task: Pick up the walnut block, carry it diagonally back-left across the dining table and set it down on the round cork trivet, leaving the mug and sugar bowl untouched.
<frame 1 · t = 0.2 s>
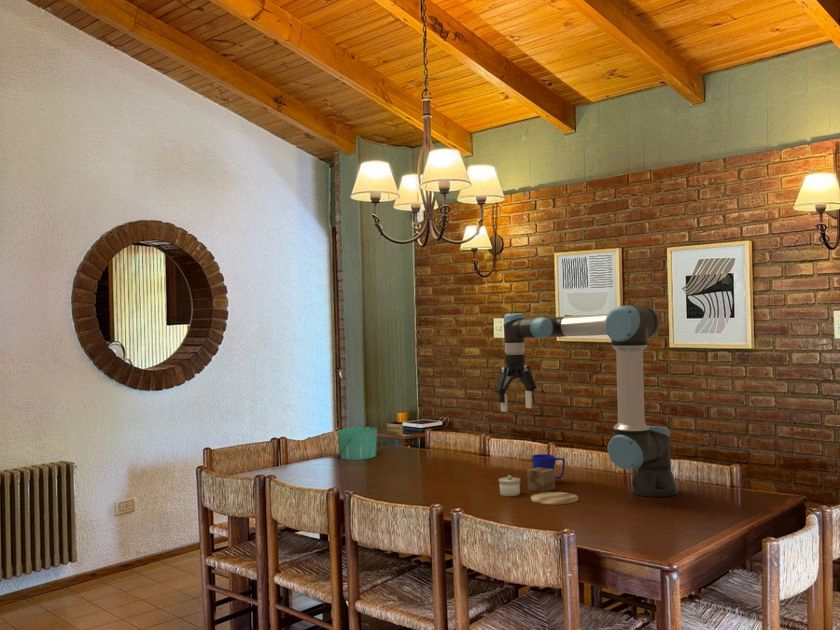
hand: (516, 409, 284), 27 cm above the table, fingers open, 13 cm apart
mug: (549, 483, 279), on the table
block: (541, 489, 269), on the table
sugar bowl: (510, 494, 263), on the table
trivet: (554, 499, 253), on the table
basket: (358, 457, 350), on the table
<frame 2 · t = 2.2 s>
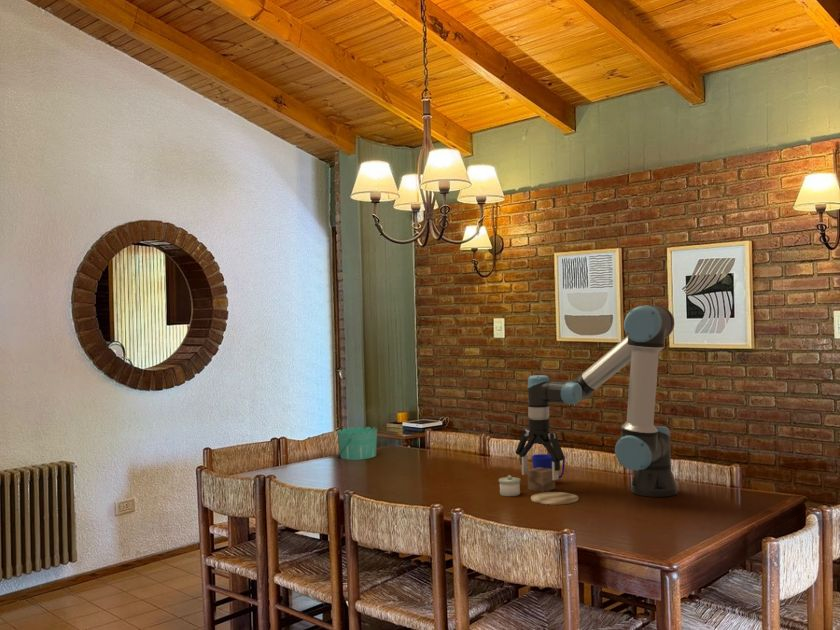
hand: (540, 477, 270), 4 cm above the table, fingers open, 13 cm apart
nothing on the table moved.
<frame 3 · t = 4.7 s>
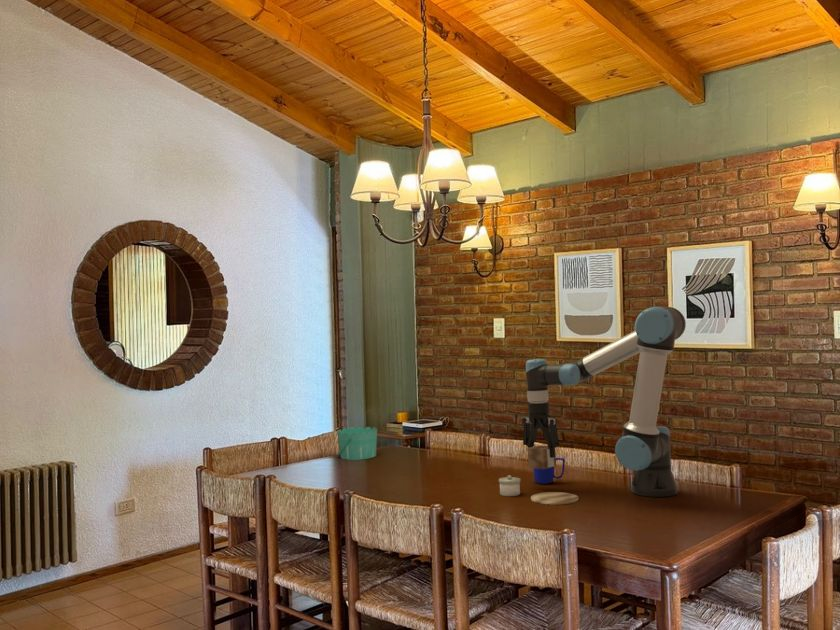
hand: (542, 465, 269), 8 cm above the table, fingers closed on block, 7 cm apart
block: (542, 466, 269), point 8 cm above the table, touching gripper
everything else where it was.
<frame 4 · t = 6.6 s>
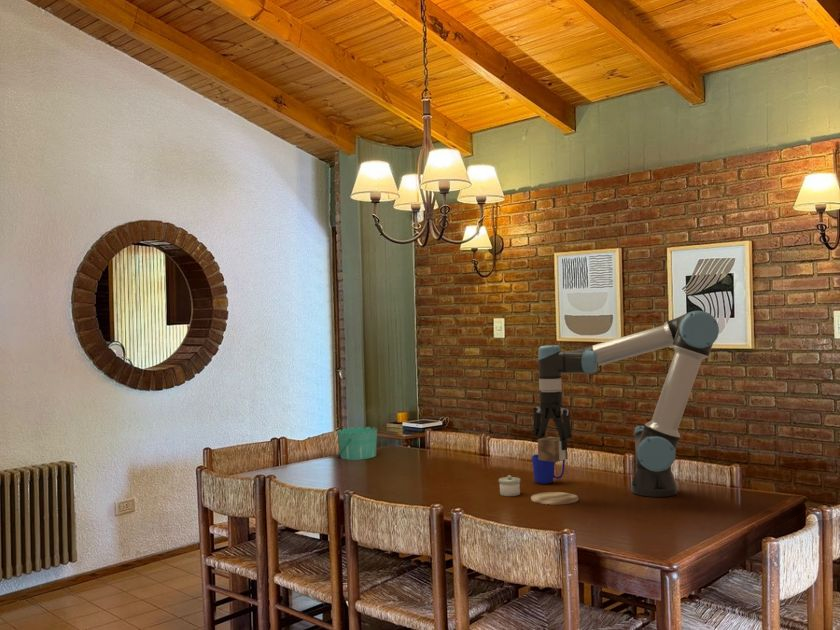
hand: (552, 458, 253), 14 cm above the table, fingers closed on block, 7 cm apart
block: (552, 459, 253), point 13 cm above the table, touching gripper
everything else where it was.
when the fingers open (1 cm above the table, at t = 8.6 s): block stays where it is, resting on trivet.
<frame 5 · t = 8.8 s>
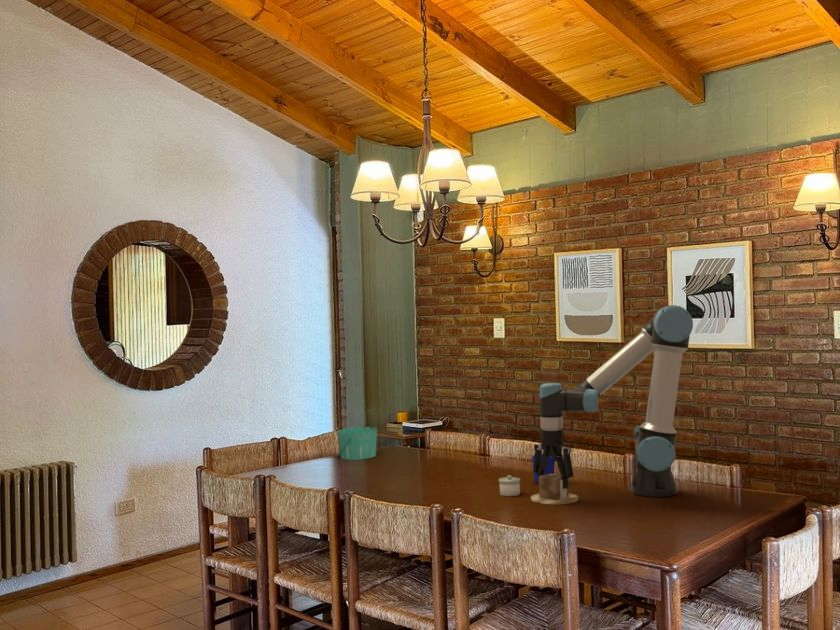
hand: (553, 496, 253), 1 cm above the table, fingers open, 8 cm apart
block: (554, 497, 253), point 1 cm above the table, touching trivet
everything else where it was.
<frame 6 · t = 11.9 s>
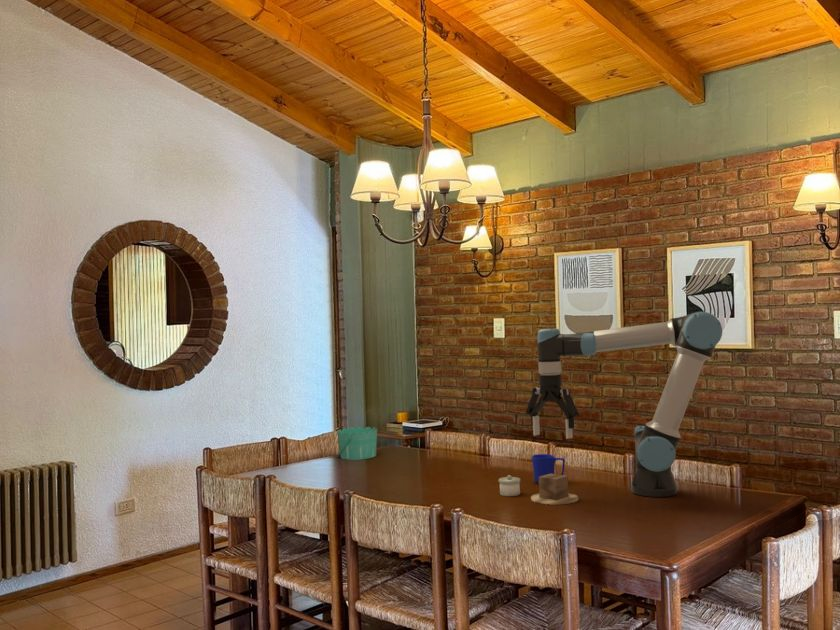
hand: (552, 436, 253), 21 cm above the table, fingers open, 13 cm apart
nothing on the table moved.
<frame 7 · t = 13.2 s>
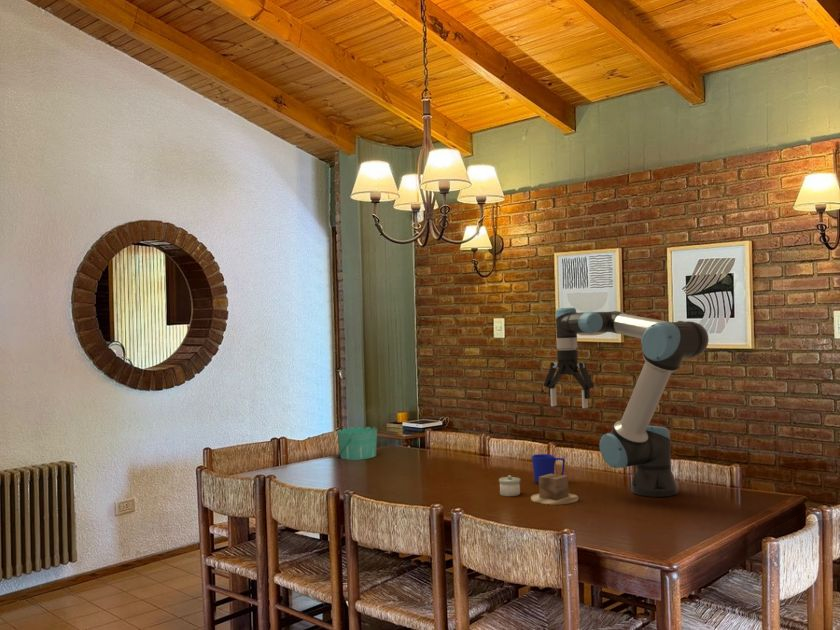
hand: (569, 406, 275), 29 cm above the table, fingers open, 13 cm apart
nothing on the table moved.
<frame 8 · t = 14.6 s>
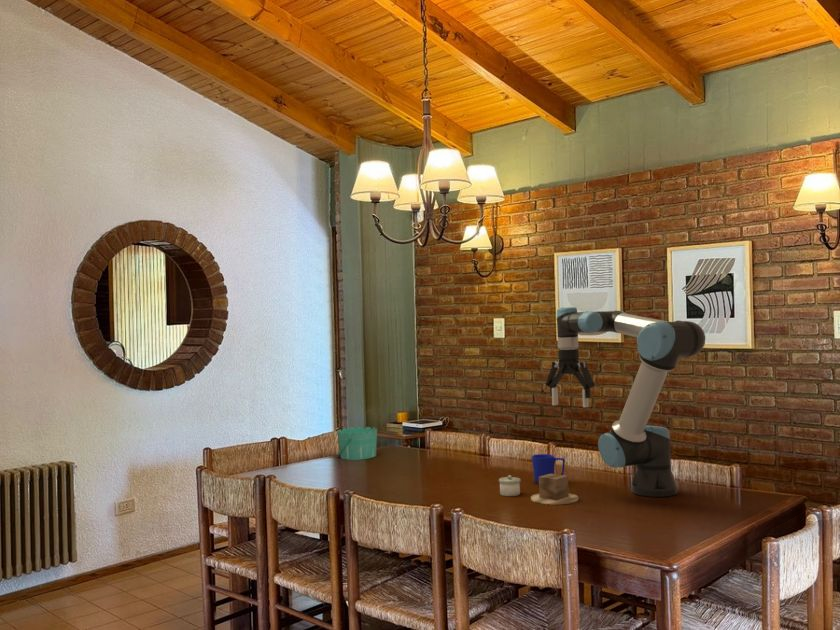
hand: (570, 406, 276), 29 cm above the table, fingers open, 13 cm apart
nothing on the table moved.
at the end: block inside the target area on the trivet (0.2 cm from its centre), point 0.7 cm above the trivet's base; block tilted 0°; the gripper is holding nothing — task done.
